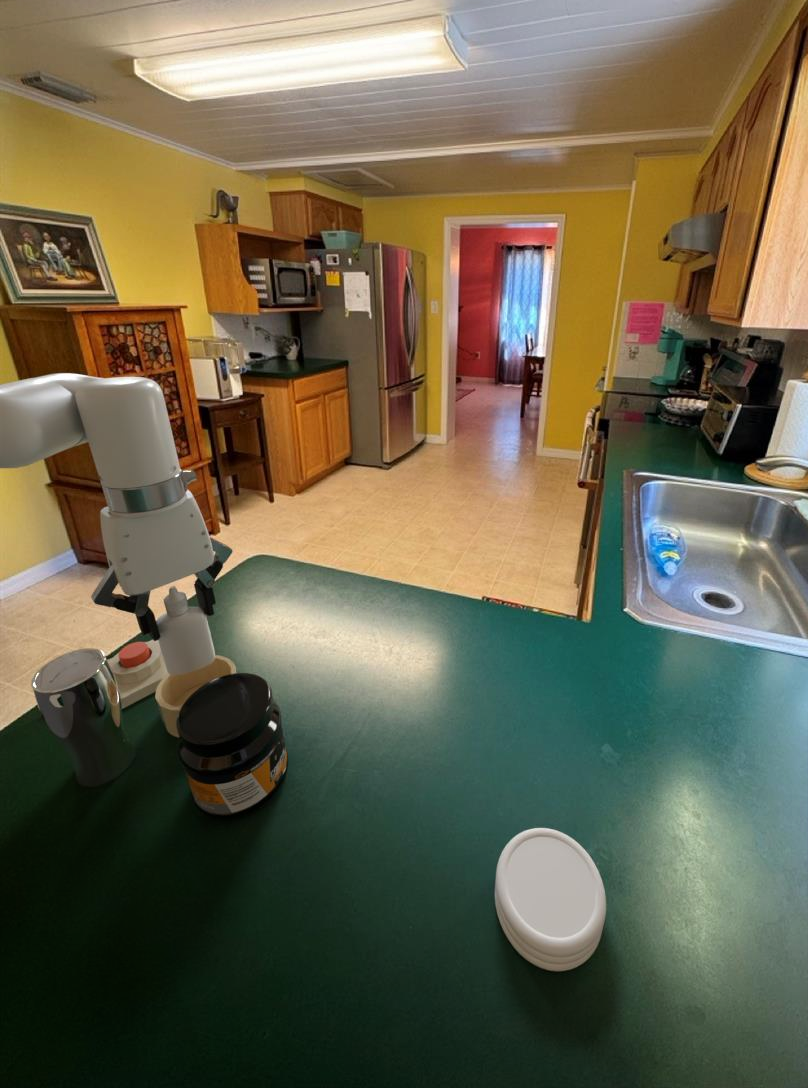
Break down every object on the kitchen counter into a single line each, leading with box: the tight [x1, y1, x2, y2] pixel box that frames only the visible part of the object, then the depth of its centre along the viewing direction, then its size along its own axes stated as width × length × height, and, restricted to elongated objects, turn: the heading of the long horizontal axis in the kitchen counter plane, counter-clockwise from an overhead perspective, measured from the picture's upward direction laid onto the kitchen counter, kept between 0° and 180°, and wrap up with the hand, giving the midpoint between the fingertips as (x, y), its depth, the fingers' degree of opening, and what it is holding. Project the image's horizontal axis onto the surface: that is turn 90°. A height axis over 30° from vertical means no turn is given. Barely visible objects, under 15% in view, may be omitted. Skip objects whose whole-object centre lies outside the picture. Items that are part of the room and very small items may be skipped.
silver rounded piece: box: [30, 647, 137, 788], centre depth 55 cm, size 7×7×15 cm
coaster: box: [494, 827, 607, 972], centre depth 44 cm, size 10×10×4 cm
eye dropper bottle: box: [156, 585, 216, 675], centre depth 60 cm, size 4×6×12 cm
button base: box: [107, 639, 168, 710], centre depth 70 cm, size 10×8×4 cm
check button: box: [118, 641, 150, 668], centre depth 69 cm, size 4×4×2 cm
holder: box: [154, 654, 238, 738], centre depth 64 cm, size 10×10×5 cm
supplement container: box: [176, 672, 289, 821], centre depth 53 cm, size 10×10×12 cm
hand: (180, 621), depth 59 cm, fingers closed on eye dropper bottle, 5 cm apart
